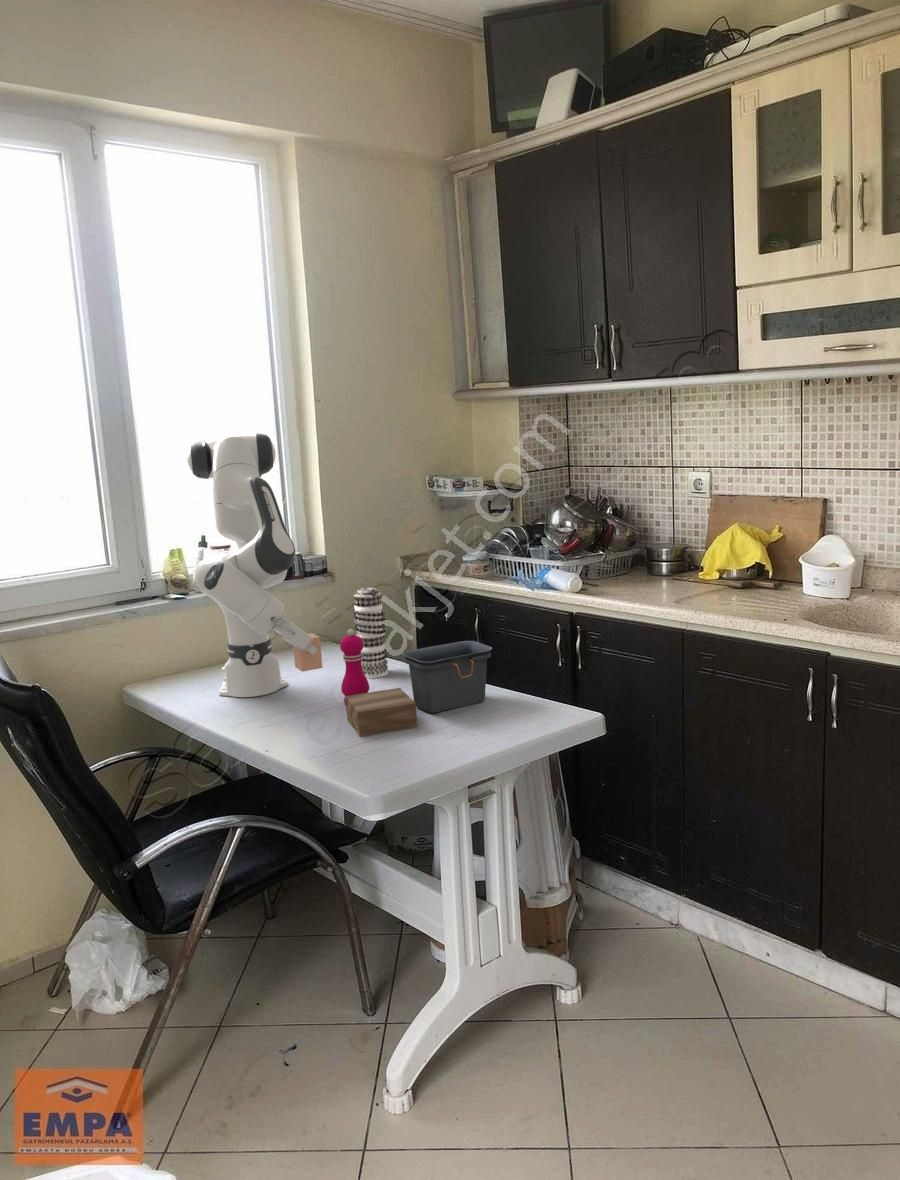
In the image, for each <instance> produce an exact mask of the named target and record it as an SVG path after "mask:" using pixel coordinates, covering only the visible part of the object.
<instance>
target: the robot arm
mask: <svg viewBox="0 0 900 1180" xmlns="http://www.w3.org/2000/svg"><path fill="white" fill-rule="evenodd" d="M271 439H272V438H270V437H269V436H268V434H264V433H259V432H258V433H256V432H255V433H254V434H251V433H230V434H223V435H215V436H210V437H204V436H203V437H199V438H195V439H192V441H191V442H190V443H189V447H188V450H187V453H186V458H187V459H186V460H187V464H188V467H189V469H190V470H191V472H192V474H193V475H194V476H195V477H196V478H199V479H204V480H206V479H207V480H208V479H209V478H210V479H213V480H212V481H213V482H212V483H213V484H212V493H213V494H212V495H213V506H214V514H215V515H214V517H215V518H214V519H215V525H216V526H215V527H216V530H217V531H218V533H219V534H220V535H221V536H223V537H224V538H226V539H229V540H231V541H234V542H235V543H236V546H237V548H238V550H236V551H235V552H230V553H223V554H216V555H214V556H211V557H208V558H206V559H205V558H204V559H203V560H200V561H199V562H198V564H197V566H196V567H195V571H194V572H195V573H194V580H195V584H196V586H197V588H198V589H199V591H200V592H201V593H202V594H203V595H206V597H208V598H210V599H211V600H213V601H214V602H215V603H216V604H217V605H218V606H219V608H220V610H221V611H222V613H223V617H224V620H225V625H226V632H227V639H228V642H227V648H226V652H227V656H228V660H227V661H226V662H225V664H224V666H222V667H221V674H222V676H224V678H223V681H222V684H221V686H220V689H219V691H218V692H219V694H220V695H219V696H226V697H227V696H228V697H235V698H252V697H259V696H264V695H268V694H271V693H272V694H273V693H275V692H277V691H278V690H280V689H282V688H284V687H288V686H289V684H288V681H287V680H286V679H284V678H283V677H281V669H280V661H279V658H278V657H277V655H275V654H274V653H272V652H273V643H272V639H271V637H270V635H272V634H273V635H275V636H277V637H278V638H281V639H282V640H284V641H285V642H287V643H289V644H290V645H292V646H293V645H294V646H295V647H297V648H299V649H301V650H302V651H305V650H307V651H308V652H309V653H311V654H312V655H313V654H315V652H316V651H317V648H316V647H314V646H313V645H312V644H311V642H312V641H313V639H312V637H311V636H309V635H308V634H309V633H307V632H306V631H304V630H303V629H302V628H301V627H299V626H298V625H296V624H295V623H294V622H292V621H291V620H289V619H287V618H286V617H287V612H285V611H284V610H285V605H284V603H283V602H282V601H280V600H279V599H278V598H277V597H275V596H274V595H272V594H271V592H269V591H268V590H267V589H268V588H271V587H273V586H277V585H278V584H280V583H283V582H284V580H285V578H286V577H287V573H288V570H289V569H290V568H291V567H292V566H293V565H294V563H295V560H296V546H295V545H294V541H293V540H292V538H291V536H290V535H289V533H288V530H287V528H286V526H285V522H284V520H283V516H282V513H281V509H280V507H279V504H278V501H277V498H276V496H275V493H274V491H273V489H272V486H271V485H270V484H269V483H268V482H267V481H266V480H265V479H264V478H262V476H263V475H265V474H267V473H269V472H270V471H271V470H272V469H273V468H274V464H275V461H276V450H275V446H274V444H273V442H272V440H271ZM265 589H266V590H265Z"/></svg>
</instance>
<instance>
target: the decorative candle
mask: <svg viewBox="0 0 900 1180" xmlns="http://www.w3.org/2000/svg"><path fill="white" fill-rule="evenodd" d="M353 597H354V606H353V607H354V608H352V617H353V618H354V620H353V624H354V628H353V630H356V631H355V632H354V635H357V636H359V637H360V638H361V639H362V640H363V644H364V647H363V649H362V651H361V653H362V657H363V658H362V659H361V666H362V670H363V672H364V675H365V676H366V678H367V679H377V678H382V677H384V676H387V675H388V674H389V666H388V660H387V658H388V655H387V654H386V653H387V651H388V650H387V649H386V643H385V636H384V635H386V629H385V627H386V624H384V623H383V622H384V621H386V618H385V614H386V613H385V612H384V611H382V610H383V603H382V592H381V591H379V589H378V588H376V587H374V586H373V587H372V586H371V587H369V586H368V587H362V588H359V589H357V590H356V592H355V593H354V594H353Z"/></svg>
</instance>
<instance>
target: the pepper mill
mask: <svg viewBox="0 0 900 1180" xmlns="http://www.w3.org/2000/svg"><path fill="white" fill-rule="evenodd" d="M354 630H355V629H351V628H350V629H348V630H347V635H345V636H344V637H343V638H342V639H341V641H340V643H339V646H340V647H339V648H340V651H341V652H342V653H343V654H342V657H343V658H342V659H343V661H344V662H345V674H344V676H343V679H342V682H341V686H340V688H341V693H342V694H343V695H344V699H343V700H344V703H343V704H344V707H346V701H345V696H350V695H356V694H363V693H369V692H370V683H369V681H368V678H366V676H365V675H364V672H363V670H362V666H361V659H362V658H363V657H362V653H361V651H362V649H363V647H364V644H363V640H362V639H361V638H360V637H359V636H357V635H355V631H354Z"/></svg>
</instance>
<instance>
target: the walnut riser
mask: <svg viewBox="0 0 900 1180" xmlns="http://www.w3.org/2000/svg"><path fill="white" fill-rule="evenodd" d="M344 698H345V701H346V706H345V709H346V721H348V723H349V725H350V726H352V729H354V731H355V732H356V734H358V736H359V738H360V737H362V738H363V737H366V736H373V735H379V734H384V733H391V732H398V731H403V730H409V729H413V728H418V717H417V716H418V714H417V707H416V703H415V702H414V699H412V698H411V697H410V696H409V695H408V694H407V693H406V692H405V691H404V690H403V689H402V688H401V687H396V688H389V689H383V690H377V691H371V692H370V691H368V693H363V694H356V695H350V696H345V695H344Z"/></svg>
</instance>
